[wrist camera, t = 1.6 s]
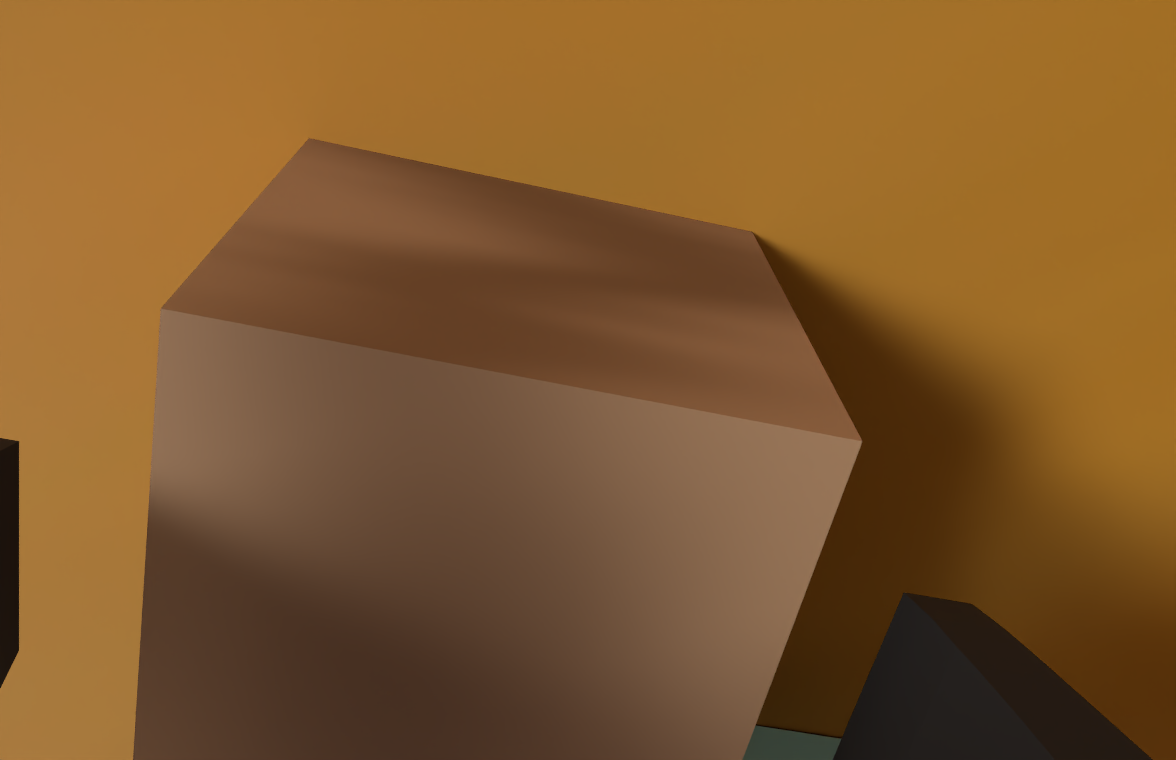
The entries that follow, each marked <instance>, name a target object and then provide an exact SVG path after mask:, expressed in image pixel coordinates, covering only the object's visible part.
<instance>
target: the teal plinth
mask: <svg viewBox="0 0 1176 760" xmlns="http://www.w3.org/2000/svg"><path fill="white" fill-rule="evenodd" d="M840 741H841V739H839V738H833V737H827V736H820V735H814V734H807V733H801V732H794V731H788V730H781V729H775V728H768V727H762V726H756V725H755V728H754V730H753V733H752V736H751V738H750V741H749V744H748V746H747V749H746V752H745V754H744V757H743V760H833V758H834V755H835V753H836V751H837V748H838V746H839V743H840Z"/></svg>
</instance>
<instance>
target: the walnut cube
mask: <svg viewBox="0 0 1176 760" xmlns="http://www.w3.org/2000/svg"><path fill="white" fill-rule="evenodd" d="M861 444H862V440H861V438H860V436H859V434H858V432H857V430H856V428H855V426H854V424H853V422H852V421H851V419H850V417H849V415H848V413H847V411H846V409H845V407H844V405H843V403H842V402H841V400H840V398H839V396H838V394H837V392H836V390H835V388H834V386H833V385H832V383H831V381H830V379H829V377H828V375H827V373H826V371H825V369H824V367H823V366H822V364H821V362H820V360H819V358H818V356H817V354H816V352H815V350H814V348H813V347H812V345H811V343H810V341H809V339H808V337H807V335H806V333H805V331H804V329H803V328H802V326H801V324H800V322H799V320H798V318H797V316H796V314H795V312H794V310H793V309H792V307H791V305H790V303H789V301H788V299H787V297H786V295H785V293H784V291H783V290H782V288H781V286H780V284H779V282H778V280H777V278H776V276H775V274H774V272H773V271H772V269H771V267H770V265H769V263H768V261H767V259H766V257H765V255H764V253H763V252H762V250H761V248H760V246H759V244H758V242H757V240H756V238H755V236H754V234H753V233H752V232H750V231H745V230H741V229H736V228H731V227H727V226H722V225H717V224H712V223H708V222H703V221H698V220H693V219H689V218H684V217H679V216H674V215H670V214H665V213H660V212H655V211H651V210H646V209H641V208H636V207H632V206H627V205H622V204H617V203H613V202H608V201H603V200H599V199H594V198H589V197H584V196H580V195H575V194H570V193H565V192H561V191H556V190H551V189H546V188H542V187H537V186H532V185H527V184H523V183H518V182H513V181H509V180H504V179H499V178H494V177H490V176H485V175H480V174H475V173H471V172H466V171H461V170H456V169H452V168H447V167H442V166H437V165H433V164H428V163H423V162H418V161H414V160H409V159H404V158H400V157H395V156H390V155H385V154H381V153H376V152H371V151H366V150H362V149H357V148H352V147H347V146H343V145H338V144H333V143H328V142H324V141H319V140H314V139H308V140H307V141H306V142H305V144H304V145H303V146H302V147H301V148H300V149H299V151H298V152H297V153H296V154H295V155H294V156H293V157H292V159H291V160H290V161H289V162H288V163H287V164H286V165H285V167H284V168H283V169H282V170H281V171H280V172H279V173H278V175H277V176H276V177H275V178H274V179H273V180H272V182H271V183H270V184H269V185H268V186H267V187H266V188H265V190H264V191H263V192H262V193H261V194H260V195H259V196H258V198H257V199H256V200H255V201H254V202H253V203H252V204H251V206H250V207H249V208H248V209H247V210H246V211H245V212H244V214H243V215H242V216H241V217H240V218H239V219H238V221H237V222H236V223H235V224H234V225H233V226H232V227H231V229H230V230H229V231H228V232H227V233H226V234H225V235H224V237H223V238H222V239H221V240H220V241H219V242H218V243H217V245H216V246H215V247H214V248H213V249H212V250H211V252H210V253H209V254H208V255H207V256H206V257H205V258H204V260H203V261H202V262H201V263H200V264H199V265H198V266H197V268H196V269H195V270H194V271H193V272H192V273H191V274H190V276H189V277H188V278H187V279H186V280H185V281H184V283H183V284H182V285H181V286H180V287H179V288H178V289H177V291H176V292H175V293H174V294H173V295H172V296H171V297H170V299H169V300H168V301H167V302H166V303H165V304H164V305H163V307H162V308H161V314H160V331H159V347H158V363H157V380H156V396H155V412H154V429H153V445H152V461H151V478H150V494H149V510H148V527H147V543H146V559H145V575H144V592H143V608H142V624H141V641H140V657H139V673H138V690H137V706H136V722H135V739H134V755H133V760H743V757H744V754H745V752H746V749H747V746H748V744H749V741H750V738H751V736H752V733H753V730H754V728H755V725H756V722H757V720H758V717H759V714H760V712H761V709H762V707H763V704H764V701H765V699H766V696H767V693H768V691H769V688H770V685H771V683H772V680H773V677H774V675H775V672H776V669H777V667H778V664H779V661H780V659H781V656H782V654H783V651H784V648H785V646H786V643H787V640H788V638H789V635H790V632H791V630H792V627H793V624H794V622H795V619H796V616H797V614H798V611H799V608H800V606H801V603H802V600H803V598H804V595H805V593H806V590H807V587H808V585H809V582H810V579H811V577H812V574H813V571H814V569H815V566H816V563H817V561H818V558H819V555H820V553H821V550H822V547H823V545H824V542H825V539H826V537H827V534H828V532H829V529H830V526H831V524H832V521H833V518H834V516H835V513H836V510H837V508H838V505H839V502H840V500H841V497H842V494H843V492H844V489H845V486H846V484H847V481H848V479H849V476H850V473H851V471H852V468H853V465H854V463H855V460H856V457H857V455H858V452H859V449H860V447H861Z"/></svg>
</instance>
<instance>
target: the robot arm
mask: <svg viewBox="0 0 1176 760" xmlns="http://www.w3.org/2000/svg"><path fill="white" fill-rule="evenodd" d="M18 651H19V441H14V440H8V439H3V438H0V688H1V686H2V684H3V682H4V680H5V678H6V676H7V674H8V672H9V669H10V667H11V665H12V663H13V661H14V659H15V657H16V655H17V653H18ZM833 760H1152V759H1151V758H1150V757H1149V756H1148V755H1147V754H1146V753H1145V752H1143V751H1142V750H1141V749H1140V748H1139V747H1138V746H1137V745H1136V744H1134V743H1133V742H1132V741H1131V740H1130V739H1129V738H1128V737H1127V736H1125V735H1124V734H1123V733H1122V732H1121V731H1120V730H1119V729H1118V728H1116V727H1115V726H1114V725H1113V724H1112V723H1111V722H1110V721H1109V720H1107V719H1106V718H1105V717H1104V716H1103V715H1102V714H1101V713H1100V712H1099V711H1097V710H1096V709H1095V708H1094V707H1093V706H1092V705H1091V704H1090V703H1088V702H1087V701H1086V700H1085V699H1084V698H1083V697H1082V696H1081V695H1080V694H1078V693H1077V692H1076V691H1075V690H1074V689H1073V688H1072V687H1071V686H1069V685H1068V684H1067V683H1066V682H1065V681H1064V680H1063V679H1062V678H1060V677H1059V676H1058V675H1057V674H1056V673H1055V672H1054V671H1053V670H1051V669H1050V668H1049V667H1048V666H1047V665H1046V664H1045V663H1043V662H1042V661H1041V660H1040V659H1039V658H1038V657H1037V656H1035V655H1034V654H1033V653H1032V652H1031V651H1030V650H1028V649H1027V648H1026V647H1025V646H1024V645H1023V644H1022V643H1020V642H1019V641H1018V640H1017V639H1016V638H1014V637H1013V636H1012V635H1011V634H1010V633H1008V632H1007V631H1006V630H1005V629H1004V628H1002V627H1001V626H1000V625H999V624H997V623H996V622H995V621H994V620H992V619H991V618H990V617H988V616H987V615H986V614H984V613H983V612H982V611H980V610H979V609H978V608H976V607H975V606H974V605H972V604H969V603H963V602H957V601H951V600H945V599H939V598H934V597H928V596H922V595H916V594H910V593H903V596H902V598H901V600H900V603H899V605H898V607H897V610H896V612H895V614H894V617H893V619H892V622H891V624H890V626H889V629H888V631H887V633H886V636H885V638H884V640H883V643H882V645H881V647H880V650H879V652H878V654H877V657H876V659H875V661H874V664H873V666H872V668H871V671H870V673H869V675H868V678H867V680H866V683H865V685H864V687H863V690H862V692H861V694H860V697H859V699H858V701H857V704H856V706H855V708H854V711H853V713H852V715H851V718H850V720H849V722H848V725H847V727H846V729H845V732H844V734H843V736H842V739H841V741H840V743H839V746H838V748H837V751H836V753H835V755H834V758H833Z"/></svg>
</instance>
